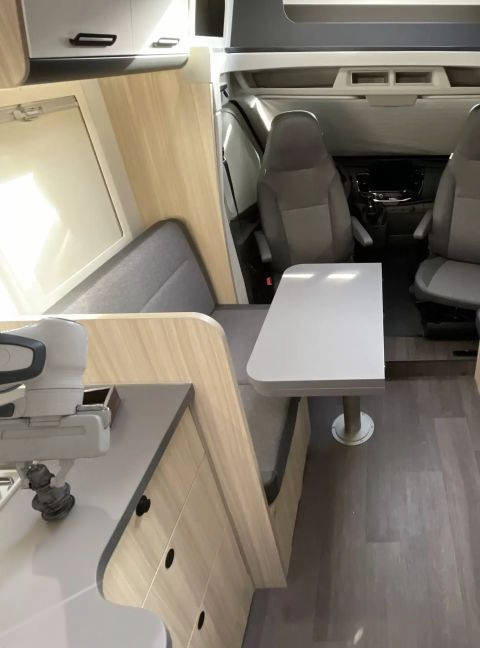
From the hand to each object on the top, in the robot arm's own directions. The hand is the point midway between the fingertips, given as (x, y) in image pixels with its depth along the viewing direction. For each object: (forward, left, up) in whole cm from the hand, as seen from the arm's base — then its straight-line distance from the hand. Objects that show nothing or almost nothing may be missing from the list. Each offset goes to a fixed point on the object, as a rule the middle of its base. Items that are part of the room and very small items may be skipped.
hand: (42, 487), depth 77 cm
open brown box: (-1, +24, -8) cm, 26 cm away
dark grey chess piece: (0, +1, -7) cm, 7 cm away
